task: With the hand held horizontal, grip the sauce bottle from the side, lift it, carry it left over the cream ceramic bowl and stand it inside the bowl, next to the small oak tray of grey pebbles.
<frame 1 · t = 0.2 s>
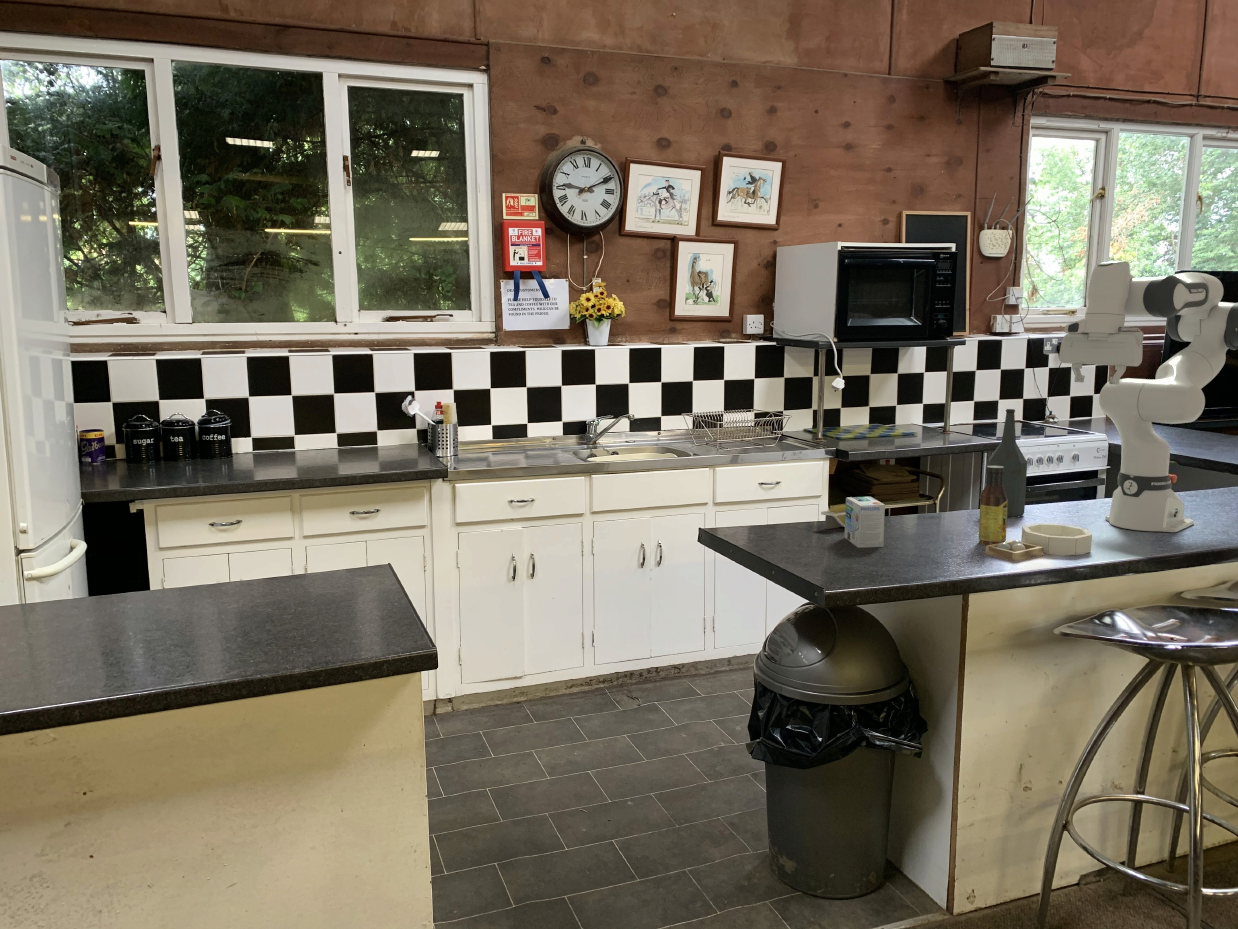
hand: (1096, 383, 231), 39 cm above the countertop, tool pointing down, fingers open, 8 cm apart
pebble tray: (1013, 558, 218), on the countertop
light bulb box: (863, 543, 235), on the countertop
pebble b: (1018, 556, 217), point 1 cm above the countertop, touching pebble tray
bowl: (1055, 550, 225), on the countertop
bottle: (1004, 514, 265), on the countertop
pebble a: (1016, 552, 220), point 1 cm above the countertop, touching pebble tray
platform: (838, 530, 251), on the countertop
sauce bottle: (991, 547, 229), on the countertop
pebble c: (1003, 555, 218), point 1 cm above the countertop, touching pebble tray
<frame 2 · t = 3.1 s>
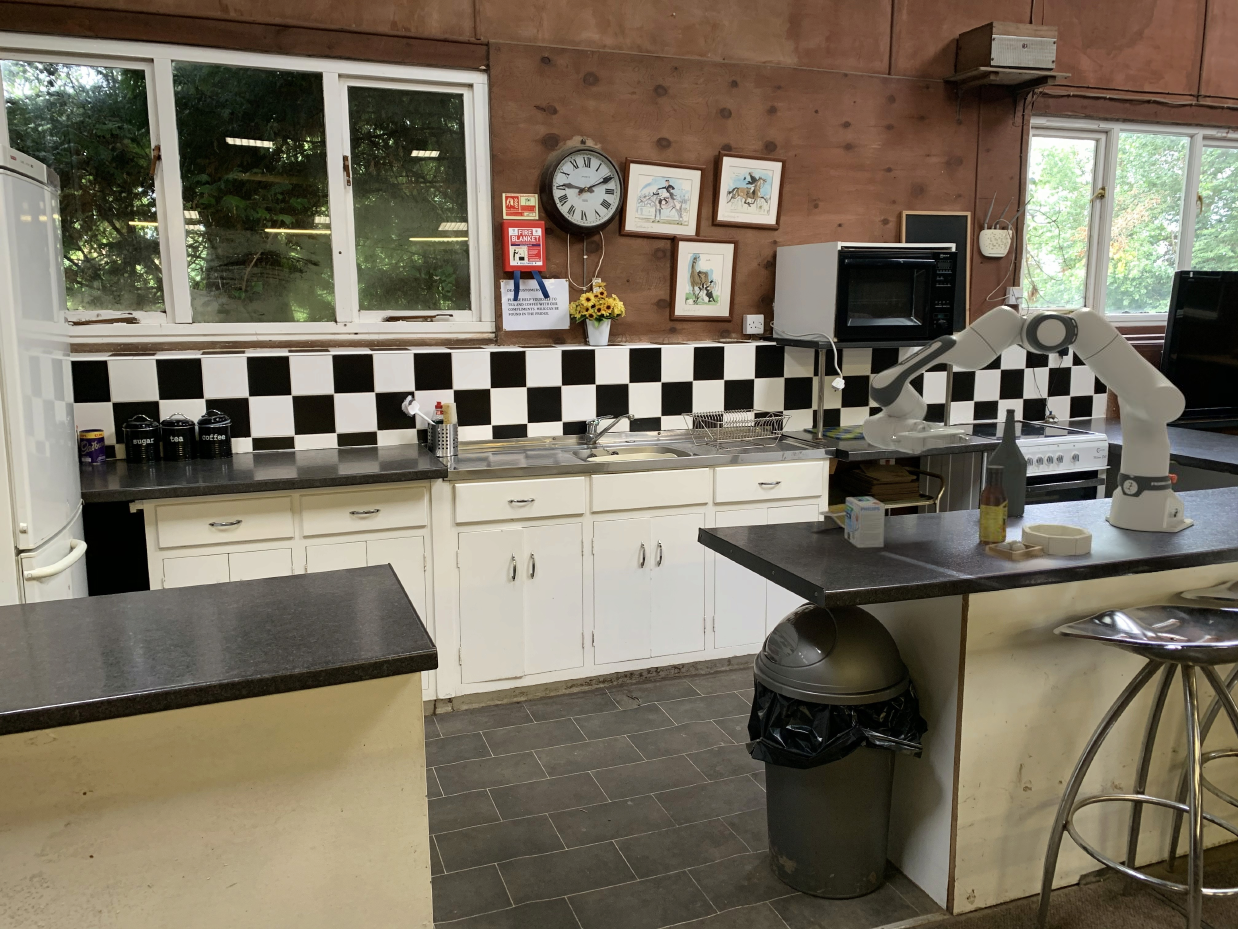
hand: (956, 442, 236), 24 cm above the countertop, tool horizontal, fingers open, 8 cm apart
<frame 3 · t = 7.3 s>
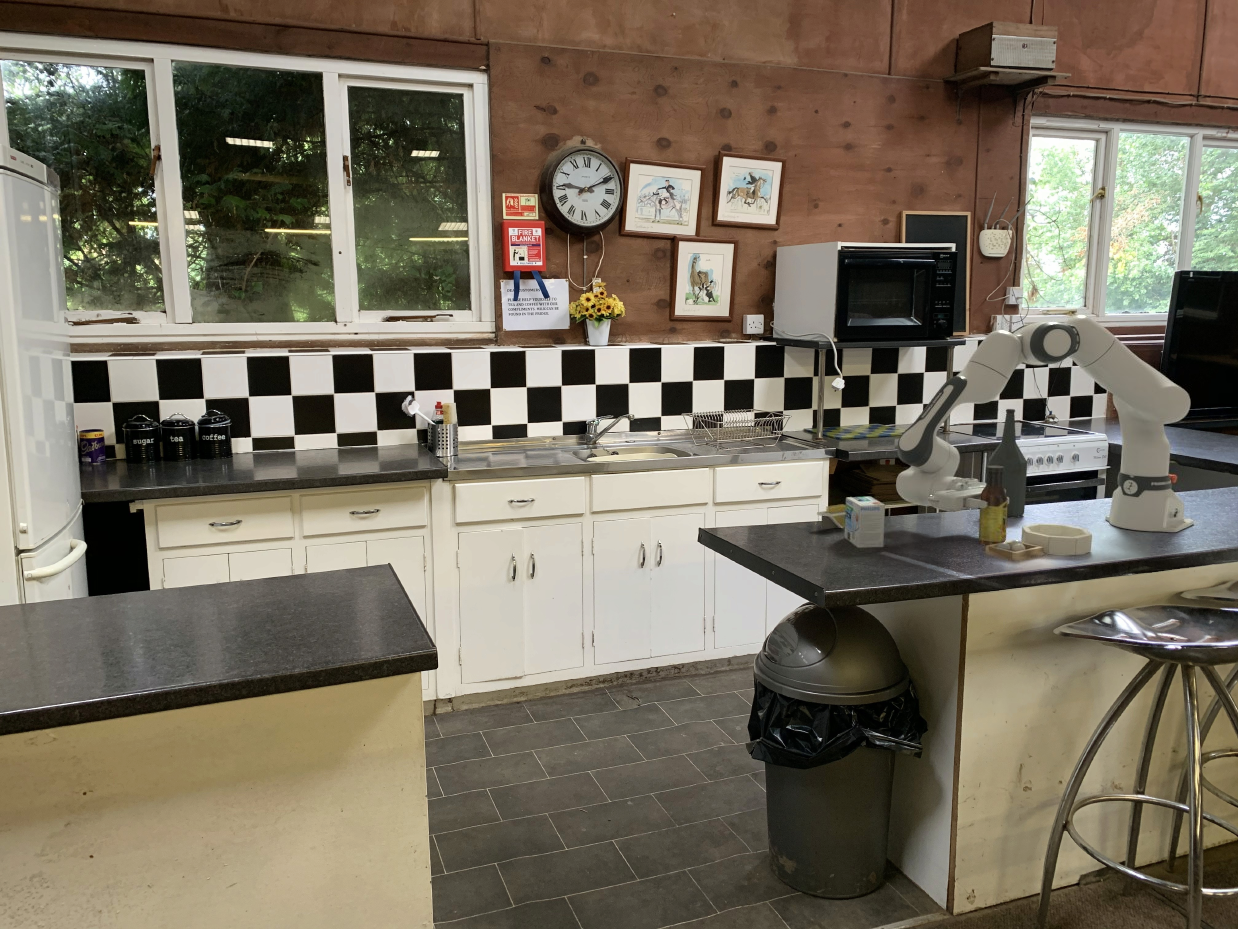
hand: (997, 503, 227), 11 cm above the countertop, tool horizontal, fingers closed on sauce bottle, 6 cm apart
sauce bottle: (991, 547, 229), on the countertop, touching gripper
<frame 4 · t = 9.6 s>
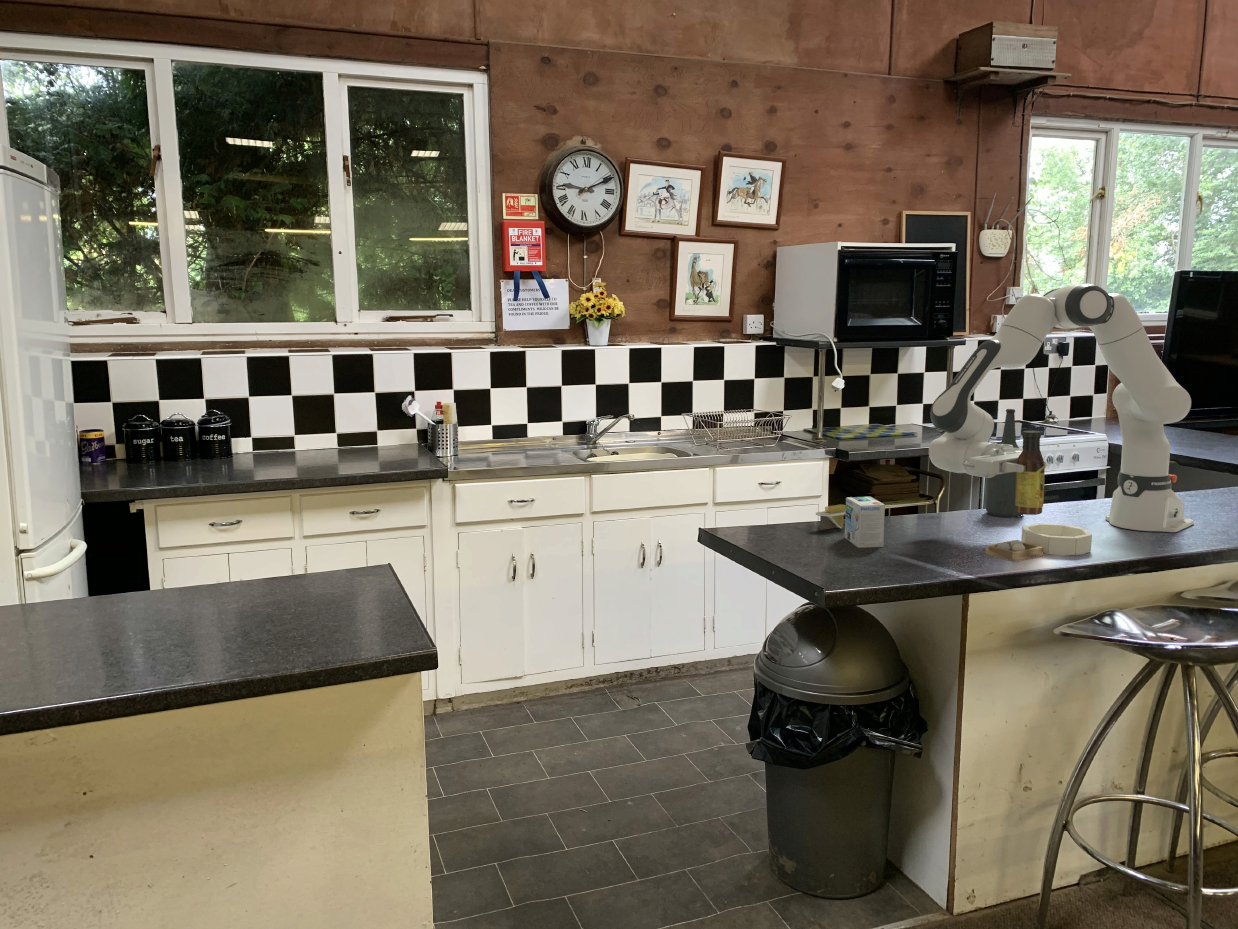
hand: (1034, 467, 223), 20 cm above the countertop, tool horizontal, fingers closed on sauce bottle, 6 cm apart
sauce bottle: (1028, 513, 226), point 9 cm above the countertop, touching gripper
when the fingers open (13 cm above the countertop, at t = 12.1 s): sauce bottle stays where it is, resting on bowl.
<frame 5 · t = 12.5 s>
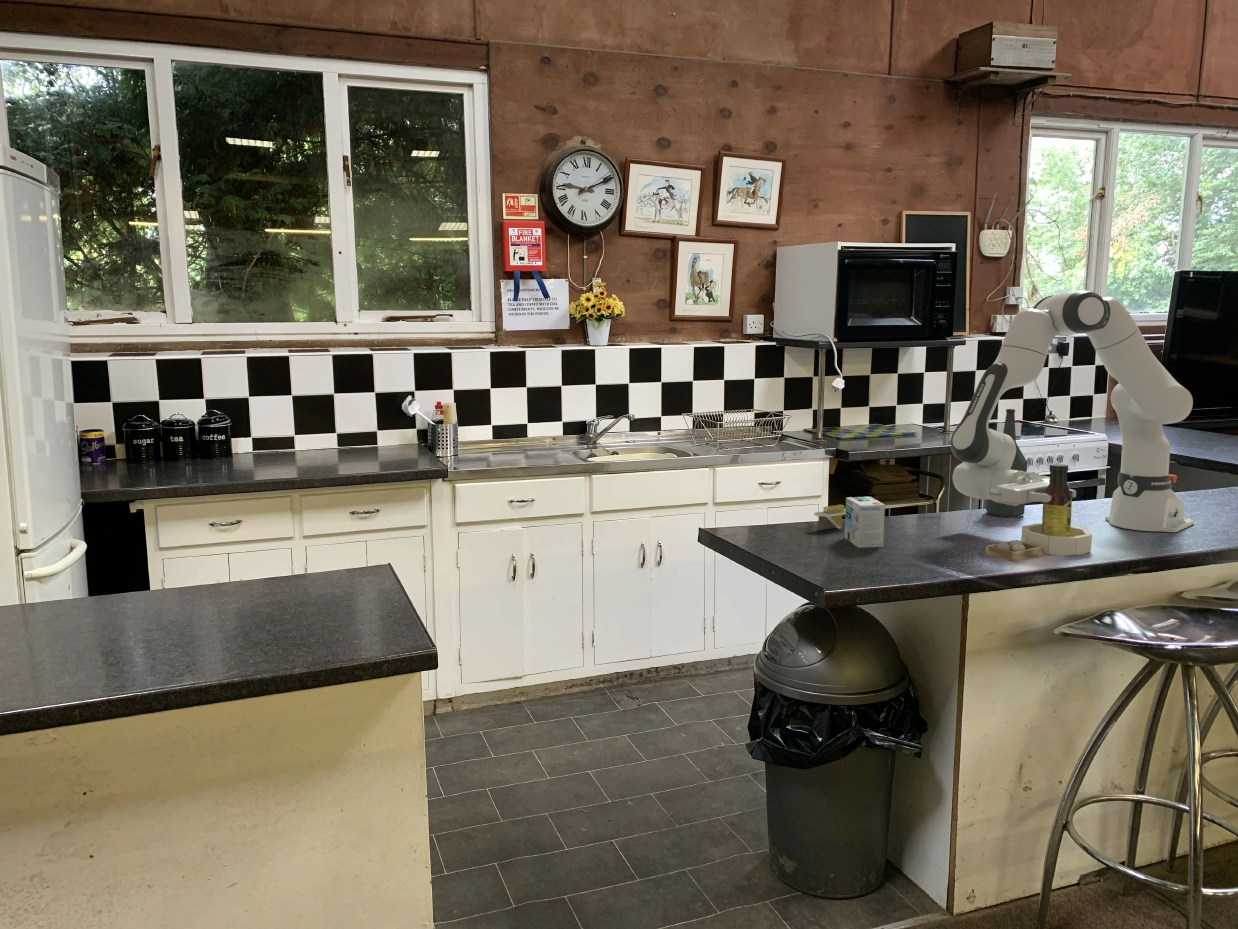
hand: (1062, 496, 222), 13 cm above the countertop, tool horizontal, fingers open, 8 cm apart
sauce bottle: (1054, 547, 224), point 1 cm above the countertop, touching bowl
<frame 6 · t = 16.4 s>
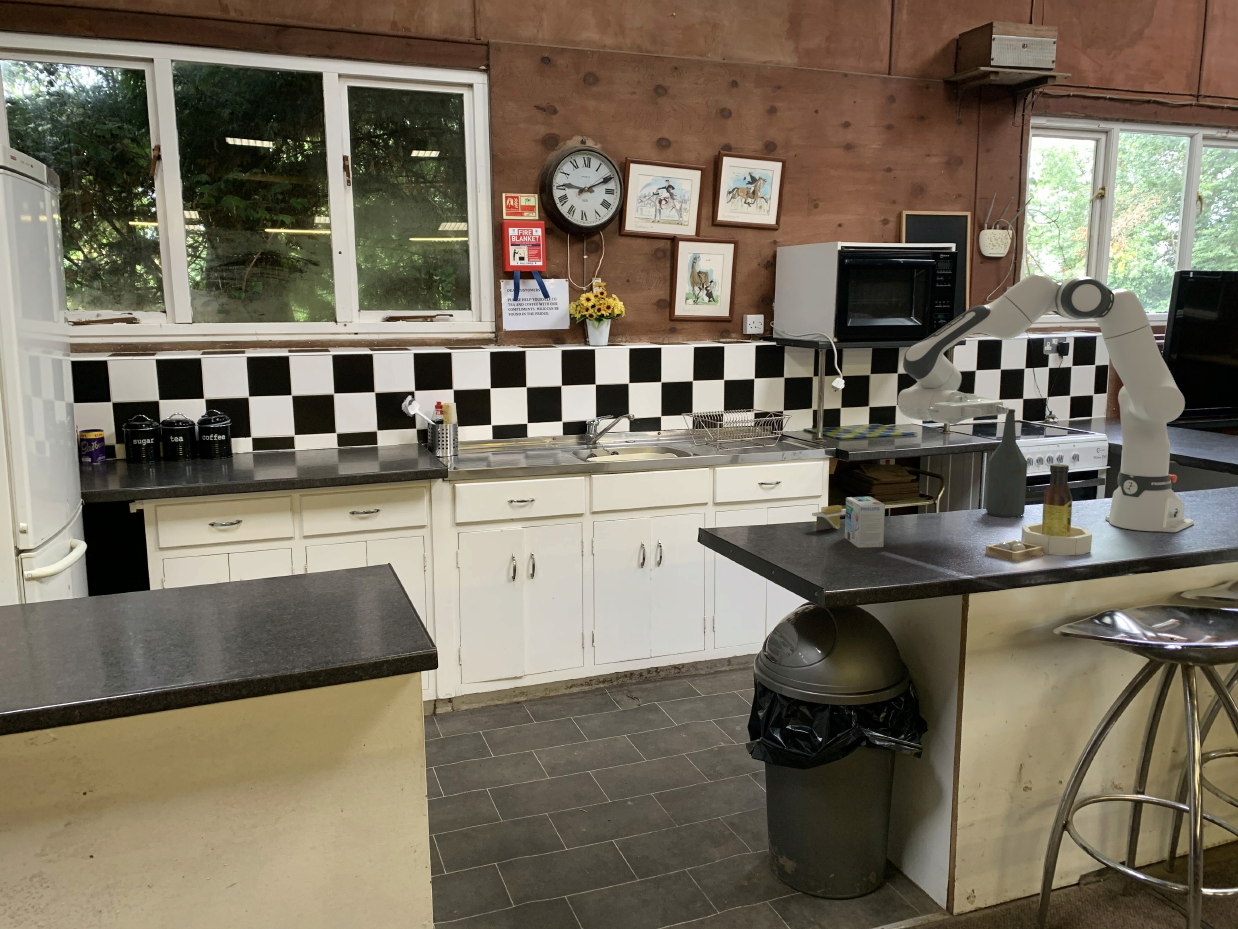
hand: (994, 411, 236), 32 cm above the countertop, tool horizontal, fingers open, 8 cm apart
at the end: sauce bottle 0.1 cm from the bowl (horizontally); sauce bottle tilted 0°; sauce bottle point 0.8 cm above the countertop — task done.
